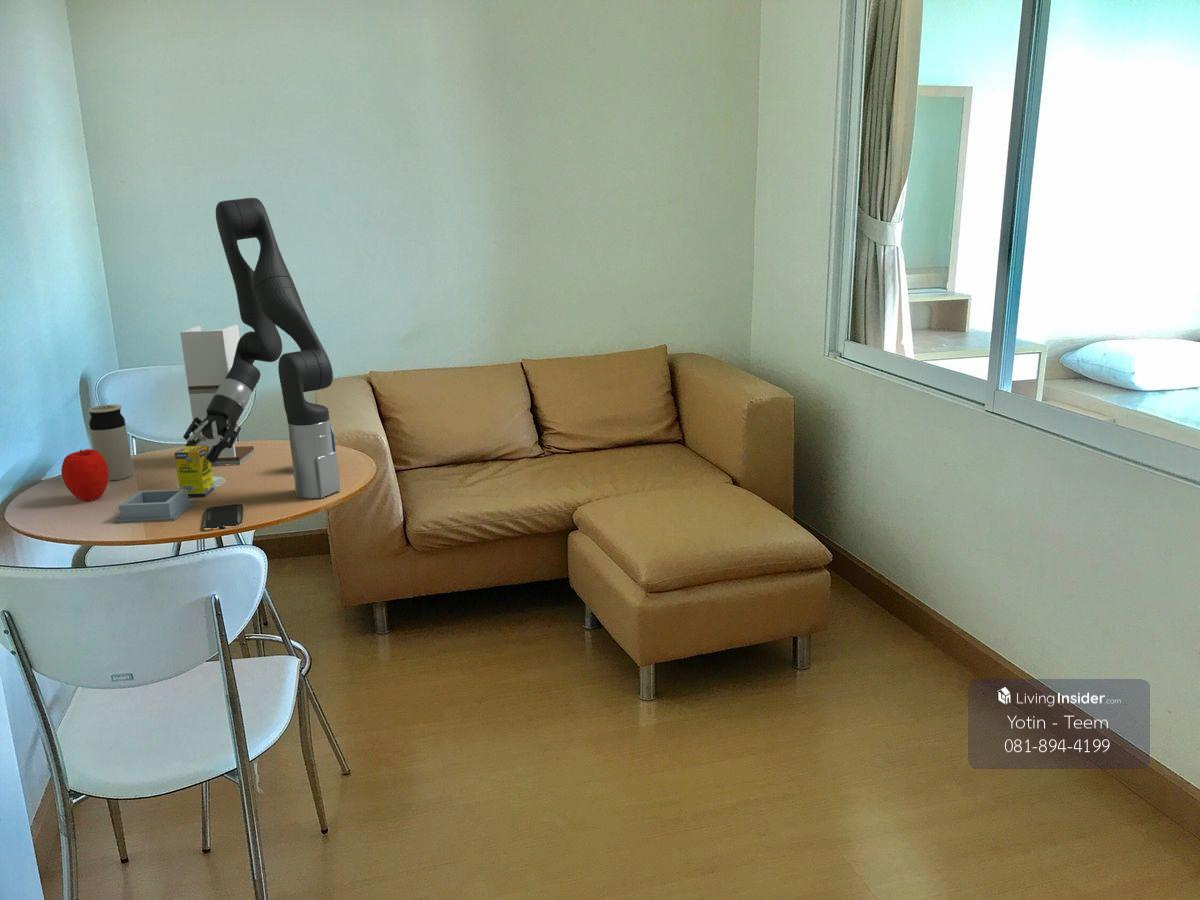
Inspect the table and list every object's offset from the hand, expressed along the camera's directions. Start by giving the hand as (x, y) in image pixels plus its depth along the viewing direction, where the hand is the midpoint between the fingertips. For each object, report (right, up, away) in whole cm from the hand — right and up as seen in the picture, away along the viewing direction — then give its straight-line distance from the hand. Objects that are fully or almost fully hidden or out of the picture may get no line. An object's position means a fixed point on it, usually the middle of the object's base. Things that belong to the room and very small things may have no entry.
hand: (197, 459), depth 233 cm
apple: (-25, -9, 0) cm, 27 cm away
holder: (-4, -12, -12) cm, 18 cm away
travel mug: (-28, -5, +17) cm, 33 cm away
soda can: (+24, -3, +19) cm, 31 cm away
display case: (-4, -1, +30) cm, 31 cm away
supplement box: (0, -8, +1) cm, 8 cm away
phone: (+13, -13, -18) cm, 26 cm away
